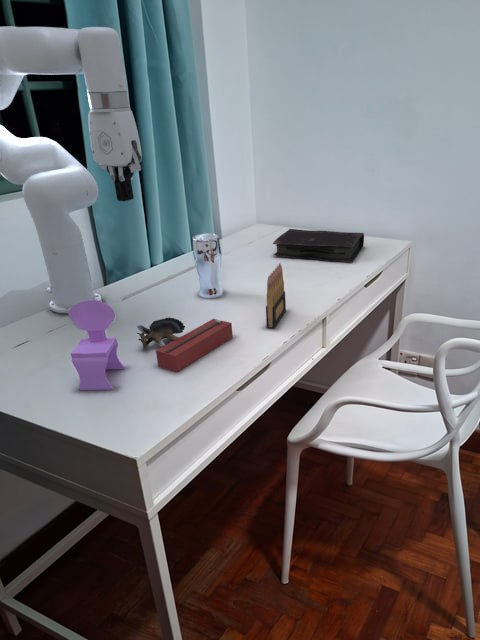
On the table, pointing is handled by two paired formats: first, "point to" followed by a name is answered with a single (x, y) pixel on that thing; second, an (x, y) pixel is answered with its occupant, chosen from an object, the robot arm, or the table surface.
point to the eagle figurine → (160, 331)
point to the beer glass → (208, 264)
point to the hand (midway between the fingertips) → (125, 199)
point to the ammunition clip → (275, 298)
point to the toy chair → (94, 344)
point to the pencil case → (194, 345)
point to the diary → (319, 245)
